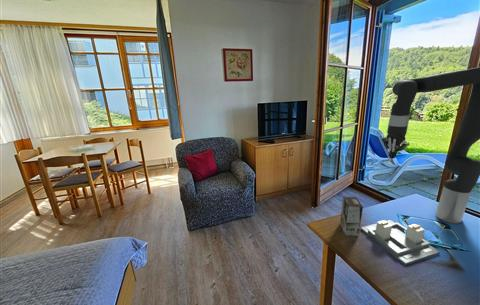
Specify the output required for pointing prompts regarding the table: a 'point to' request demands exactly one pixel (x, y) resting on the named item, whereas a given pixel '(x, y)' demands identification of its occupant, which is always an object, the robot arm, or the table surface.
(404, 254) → the white slotted board
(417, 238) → the tab
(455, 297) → the table surface
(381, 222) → the tab
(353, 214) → the coffee box
